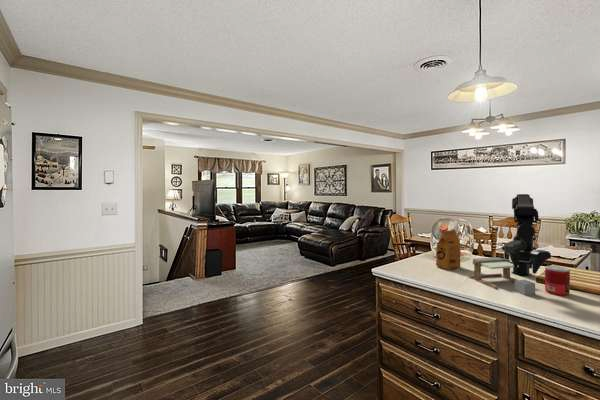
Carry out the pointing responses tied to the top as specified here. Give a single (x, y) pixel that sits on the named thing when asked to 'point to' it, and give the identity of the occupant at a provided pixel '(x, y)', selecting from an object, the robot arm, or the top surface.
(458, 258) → the coffee package
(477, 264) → the frame
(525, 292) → the stone
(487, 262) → the trapdoor
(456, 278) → the top surface
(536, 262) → the robot arm
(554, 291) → the canned food
